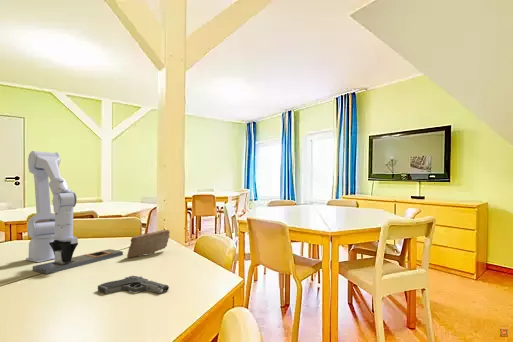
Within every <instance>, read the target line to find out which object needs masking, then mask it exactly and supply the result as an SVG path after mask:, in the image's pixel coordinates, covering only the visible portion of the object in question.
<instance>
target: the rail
mask: <svg viewBox="0 0 513 342" xmlns="http://www.w3.org/2000/svg"><path fill="white" fill-rule="evenodd" d="M123 255H124V251H121V250H116V249H110V248H109V249H104V250H100V251H95V252H92V253H87V254H86V253H85V254H82V255H77V256H72V263H68V264H63V265H56V264H55V260H54V261H50V262H46V263H41V264H37V265H33V266H32V269H31V270H32V272H37V273H40V274H44V275H49V274H53V273H57V272H60V271H65V270H68V269H73V268H76V267H77V268H78V267H80V266H84V265H89V264H93V263H96V262H101V261H105V260H108V259H112V258H116V257H121V256H123Z"/></svg>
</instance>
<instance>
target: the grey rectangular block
mask: <svg viewBox="0 0 513 342" xmlns="http://www.w3.org/2000/svg"><path fill="white" fill-rule="evenodd" d="M54 261H55V264H56V265H63V264H68V263H72V259H71V262H67V263H64V260H63V252H62V250H58V251H55V259H54Z"/></svg>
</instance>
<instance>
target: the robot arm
mask: <svg viewBox="0 0 513 342" xmlns="http://www.w3.org/2000/svg"><path fill="white" fill-rule="evenodd" d="M27 157H28V158H27V164H28V165H27V166H28V171H29V173H31V174H33V180H34V181H33V182H34V196H35V210H36V211H35V212H36V214H35V215H33V216H32V217H30V218H29V220H28V225H27V235H28V237H30V238H31V239H30V241H29V242H28V257H26V258H25V260H27V261H31V262H34V263H35V262H36V263H42V262H45V261H46V262H47V261H49V260H51V261H52V260H55V251H58V250H62V252H63V260H64V263H67V262H71V259H72V257H74V256H73V255H74V252H75V251H76V249H77V246H79V238H78V237H76V236H74V208H75V207H76V205H77V202H78V201H77V194H76V192H74V191H73V190H71V189H70V187H69V185H68V182H67V180H66V179H65V178H63V177H62V175H61V171H60V164H61V155H60V154H59V152H51V151H50V152H47V151H35V150H32V151H31V152H29V154H28V156H27ZM49 180H50V181H49ZM50 191H51V194H52V200H51V197H50V196H51V195H50ZM51 202H52V207H53V212H52V209H51Z"/></svg>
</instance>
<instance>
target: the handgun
mask: <svg viewBox="0 0 513 342" xmlns="http://www.w3.org/2000/svg"><path fill="white" fill-rule="evenodd" d="M169 289H170V286H169V285H167V284H164V283H161V282H157V281H153V280H149V279H148V278H144V277H143V276H141V275H140V276H137V275H129V276H125V277H124V278H123V279H118V280H112V281H107V282H103V283H101V284H99V285H97V292H99V293H102V294H105V295H108V294H111V293H116V292H121V291H125V290H127V291H130V292H132V293H140V292H144V291H145V292H153V293H156V294H164V293H166V292H169Z"/></svg>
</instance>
